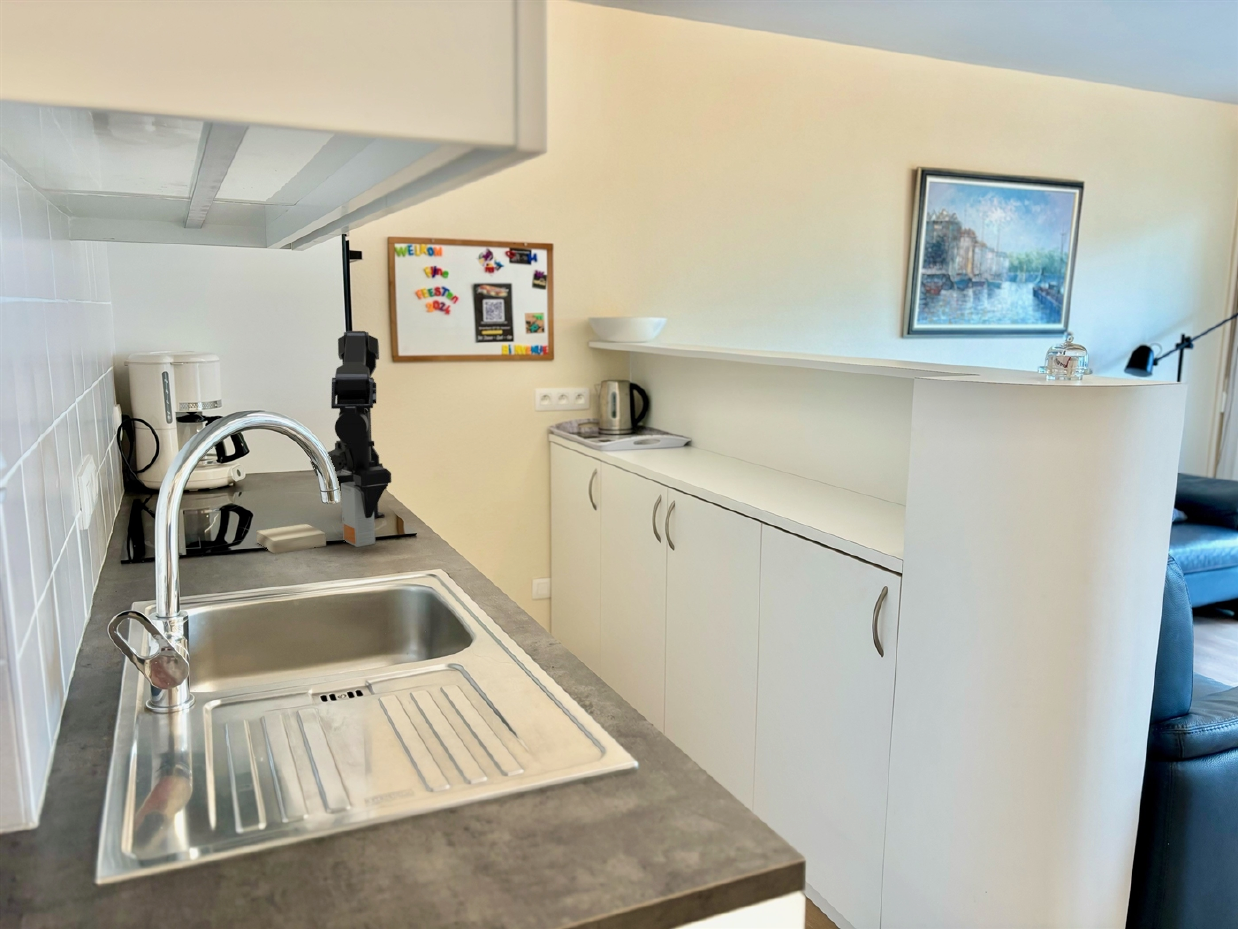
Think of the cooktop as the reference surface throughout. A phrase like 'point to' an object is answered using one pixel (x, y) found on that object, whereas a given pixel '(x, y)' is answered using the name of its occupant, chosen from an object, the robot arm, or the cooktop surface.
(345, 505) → the skincare box
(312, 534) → the beech block
